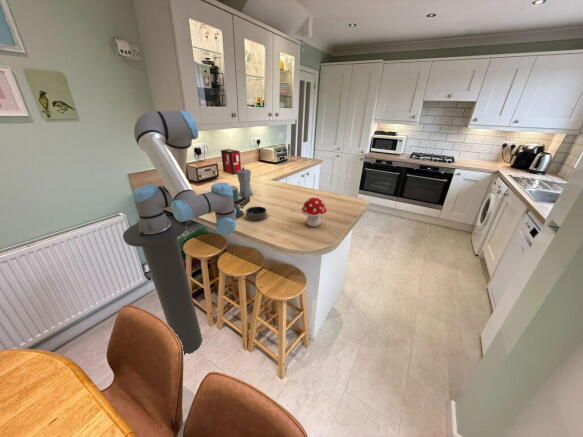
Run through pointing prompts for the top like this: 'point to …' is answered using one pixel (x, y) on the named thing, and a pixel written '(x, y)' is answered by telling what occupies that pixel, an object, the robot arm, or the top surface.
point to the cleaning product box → (231, 161)
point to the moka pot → (244, 181)
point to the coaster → (239, 214)
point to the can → (236, 197)
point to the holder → (256, 213)
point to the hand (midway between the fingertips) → (229, 194)
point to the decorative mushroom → (314, 211)
